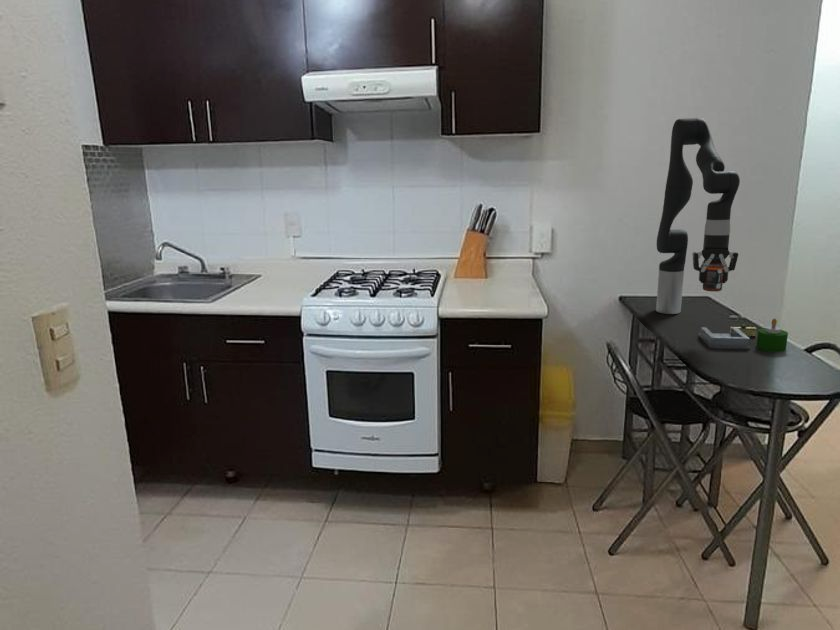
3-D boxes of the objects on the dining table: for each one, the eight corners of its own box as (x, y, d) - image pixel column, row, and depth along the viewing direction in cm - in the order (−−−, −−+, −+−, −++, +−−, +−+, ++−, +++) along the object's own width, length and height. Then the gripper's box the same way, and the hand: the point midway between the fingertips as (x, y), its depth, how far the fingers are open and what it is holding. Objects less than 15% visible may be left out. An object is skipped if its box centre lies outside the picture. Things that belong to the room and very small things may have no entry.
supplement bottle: (724, 292, 195) (727, 258, 193) (704, 291, 197) (707, 258, 194) (719, 288, 201) (722, 256, 198) (700, 288, 202) (703, 256, 200)
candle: (759, 351, 188) (763, 321, 185) (753, 343, 196) (757, 314, 193) (788, 352, 185) (792, 322, 183) (782, 345, 193) (785, 315, 190)
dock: (698, 335, 205) (699, 326, 204) (735, 336, 203) (736, 326, 202) (710, 348, 192) (711, 338, 191) (749, 349, 190) (751, 338, 189)
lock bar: (729, 335, 205) (730, 324, 204) (754, 335, 204) (755, 324, 203) (730, 336, 204) (731, 325, 203) (755, 336, 202) (757, 325, 201)
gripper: (736, 231, 196) (732, 281, 200) (690, 232, 199) (687, 280, 203) (744, 234, 189) (739, 285, 193) (696, 234, 192) (692, 284, 196)
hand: (712, 282), depth 198 cm, fingers closed on supplement bottle, 6 cm apart
